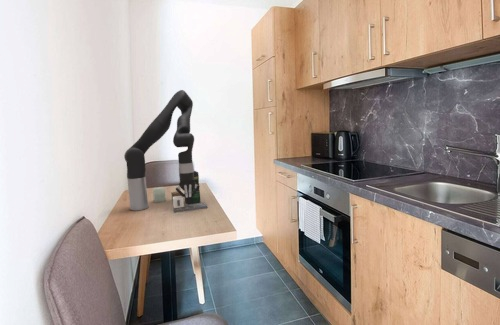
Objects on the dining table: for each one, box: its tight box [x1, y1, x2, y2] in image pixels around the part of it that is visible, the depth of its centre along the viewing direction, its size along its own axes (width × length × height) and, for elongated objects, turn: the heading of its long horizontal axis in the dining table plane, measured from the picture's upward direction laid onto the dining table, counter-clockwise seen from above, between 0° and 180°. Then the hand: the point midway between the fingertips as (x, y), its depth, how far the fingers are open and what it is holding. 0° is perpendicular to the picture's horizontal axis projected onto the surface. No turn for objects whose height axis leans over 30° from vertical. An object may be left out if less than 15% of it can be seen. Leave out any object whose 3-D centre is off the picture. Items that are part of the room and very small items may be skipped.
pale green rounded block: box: [152, 186, 167, 204], centre depth 171 cm, size 7×7×8 cm
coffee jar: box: [183, 170, 201, 204], centre depth 164 cm, size 10×8×19 cm
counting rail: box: [172, 202, 208, 213], centre depth 151 cm, size 8×17×2 cm, turn 108°
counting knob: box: [172, 196, 185, 208], centre depth 149 cm, size 6×5×5 cm
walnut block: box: [171, 190, 181, 201], centre depth 171 cm, size 5×5×5 cm
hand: (188, 203), depth 151 cm, fingers closed
